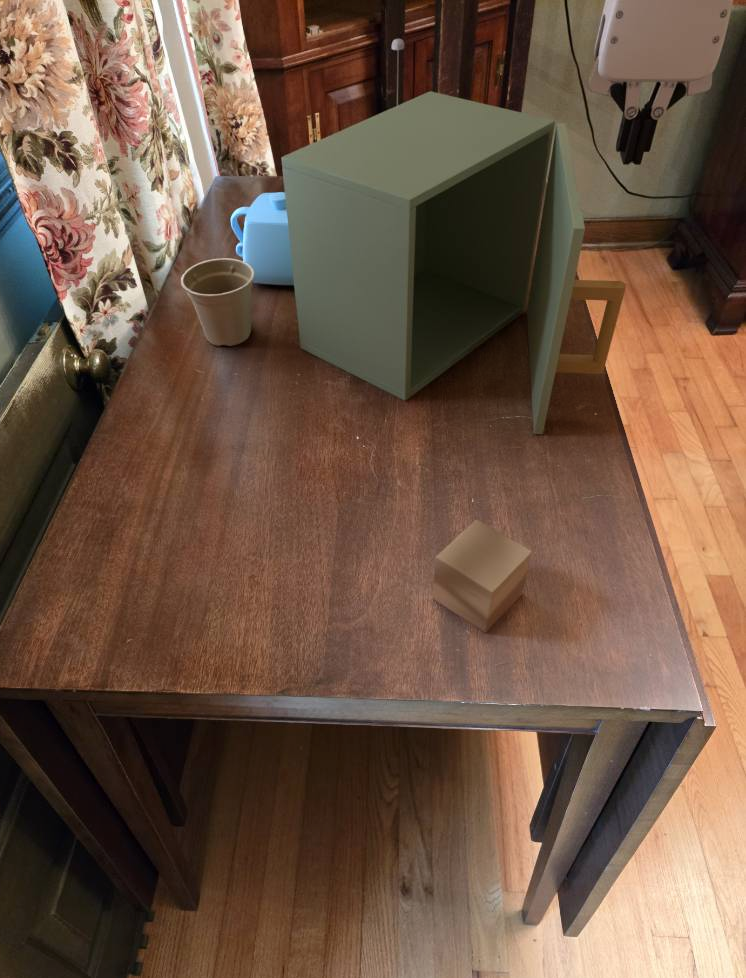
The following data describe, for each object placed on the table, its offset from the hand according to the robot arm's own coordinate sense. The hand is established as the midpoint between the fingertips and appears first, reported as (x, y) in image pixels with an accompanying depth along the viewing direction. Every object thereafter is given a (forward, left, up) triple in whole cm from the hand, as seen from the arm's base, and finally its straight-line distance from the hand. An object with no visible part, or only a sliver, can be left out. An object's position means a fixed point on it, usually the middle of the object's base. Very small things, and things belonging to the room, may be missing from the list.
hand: (630, 158), depth 71 cm
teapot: (+46, +4, -26) cm, 53 cm away
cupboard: (+22, +5, -25) cm, 34 cm away
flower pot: (+41, +22, -26) cm, 53 cm away
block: (-11, +36, -25) cm, 45 cm away
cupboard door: (+3, +1, -25) cm, 25 cm away
